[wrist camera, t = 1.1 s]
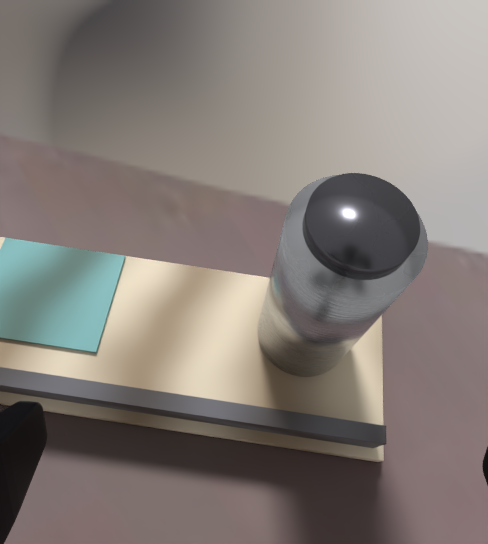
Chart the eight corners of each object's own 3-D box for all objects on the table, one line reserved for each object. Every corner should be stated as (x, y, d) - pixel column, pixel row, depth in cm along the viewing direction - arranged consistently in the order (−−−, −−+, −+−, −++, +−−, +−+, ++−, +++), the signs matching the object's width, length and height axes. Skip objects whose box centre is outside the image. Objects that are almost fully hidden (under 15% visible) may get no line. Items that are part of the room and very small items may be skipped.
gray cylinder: (363, 356, 24) (468, 257, 14) (280, 391, 23) (331, 307, 13) (322, 279, 26) (388, 145, 16) (243, 307, 25) (264, 181, 15)
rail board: (377, 300, 27) (392, 281, 24) (378, 461, 22) (397, 457, 20) (-3, 242, 27) (-23, 218, 24) (-73, 393, 22) (-105, 380, 20)
